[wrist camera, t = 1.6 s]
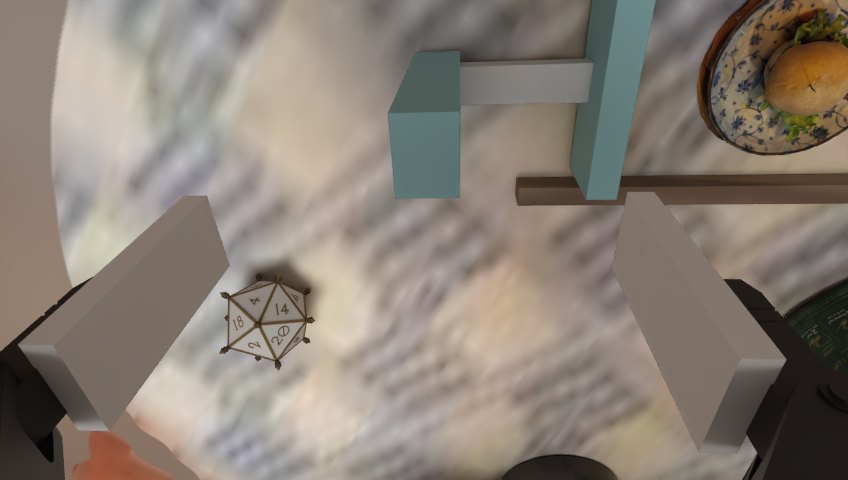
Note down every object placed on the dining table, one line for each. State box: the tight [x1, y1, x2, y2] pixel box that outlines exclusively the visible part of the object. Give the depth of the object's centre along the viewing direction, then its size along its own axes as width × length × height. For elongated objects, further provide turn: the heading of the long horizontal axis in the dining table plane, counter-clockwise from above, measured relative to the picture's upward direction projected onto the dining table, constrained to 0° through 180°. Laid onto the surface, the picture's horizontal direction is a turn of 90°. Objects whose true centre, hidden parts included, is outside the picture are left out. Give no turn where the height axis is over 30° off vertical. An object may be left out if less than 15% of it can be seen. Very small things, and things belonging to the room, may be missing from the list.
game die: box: [219, 273, 315, 370], centre depth 42 cm, size 9×8×10 cm
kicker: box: [388, 0, 656, 200], centre depth 26 cm, size 14×14×15 cm
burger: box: [697, 0, 848, 156], centre depth 29 cm, size 12×12×8 cm
